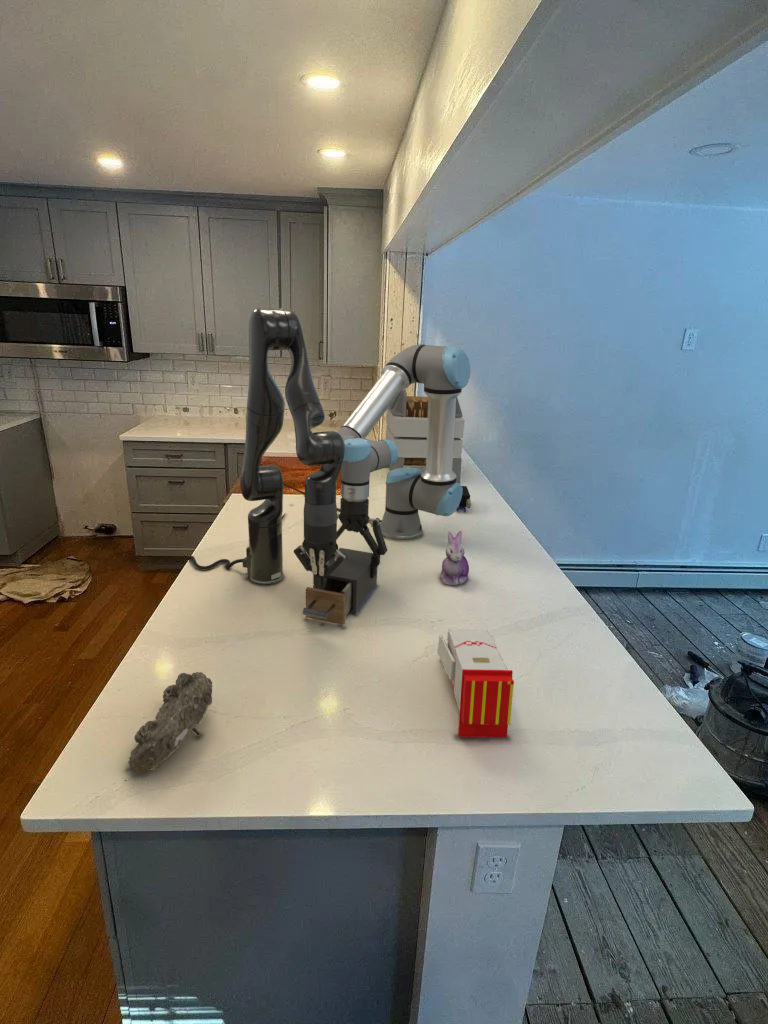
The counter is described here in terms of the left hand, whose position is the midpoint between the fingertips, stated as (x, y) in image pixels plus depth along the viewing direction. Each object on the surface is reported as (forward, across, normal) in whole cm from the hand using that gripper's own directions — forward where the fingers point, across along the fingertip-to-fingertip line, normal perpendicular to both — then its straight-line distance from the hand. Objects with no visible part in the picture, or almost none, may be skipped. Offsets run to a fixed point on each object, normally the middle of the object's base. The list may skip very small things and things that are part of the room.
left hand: (320, 587), depth 134 cm
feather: (+12, -44, +67) cm, 81 cm away
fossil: (+12, -10, -41) cm, 44 cm away
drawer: (+11, 0, +8) cm, 13 cm away
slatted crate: (+12, -12, +148) cm, 149 cm away
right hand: (+6, 0, +23) cm, 24 cm away
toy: (+12, +38, -10) cm, 42 cm away
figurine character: (+12, +16, +106) cm, 107 cm away
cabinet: (+12, 0, +19) cm, 22 cm away
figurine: (+12, +26, +40) cm, 49 cm away
